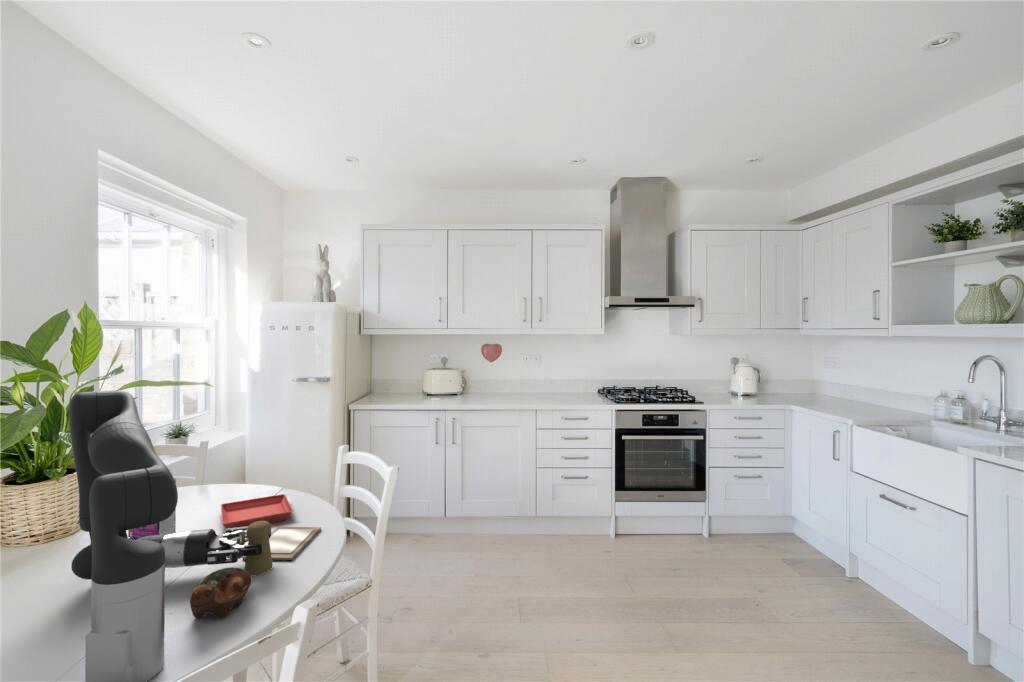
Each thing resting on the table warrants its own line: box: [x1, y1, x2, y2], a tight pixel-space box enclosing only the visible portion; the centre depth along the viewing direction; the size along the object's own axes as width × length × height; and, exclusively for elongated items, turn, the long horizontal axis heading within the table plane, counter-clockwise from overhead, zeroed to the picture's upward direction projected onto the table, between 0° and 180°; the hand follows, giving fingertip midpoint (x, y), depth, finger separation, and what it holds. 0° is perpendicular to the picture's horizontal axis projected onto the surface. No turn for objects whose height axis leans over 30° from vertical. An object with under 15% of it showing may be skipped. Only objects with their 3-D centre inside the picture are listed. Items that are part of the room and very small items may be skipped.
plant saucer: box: [220, 493, 294, 529], centre depth 140 cm, size 18×18×3 cm
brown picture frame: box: [242, 526, 322, 561], centre depth 122 cm, size 18×12×1 cm, turn 1°
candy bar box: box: [127, 476, 177, 540], centre depth 125 cm, size 11×5×16 cm, turn 74°
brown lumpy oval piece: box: [189, 566, 252, 620], centre depth 93 cm, size 10×15×8 cm, turn 1°
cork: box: [243, 521, 274, 576], centre depth 109 cm, size 6×6×11 cm
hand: (266, 540), depth 110 cm, fingers open, 8 cm apart
